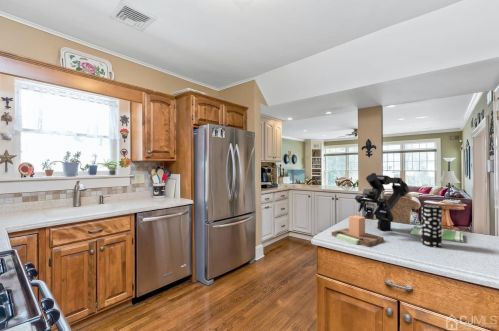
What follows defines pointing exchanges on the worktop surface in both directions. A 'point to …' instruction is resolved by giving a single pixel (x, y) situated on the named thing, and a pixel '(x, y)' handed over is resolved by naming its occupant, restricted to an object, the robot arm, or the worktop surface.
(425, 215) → the spotted tube
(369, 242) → the walnut board
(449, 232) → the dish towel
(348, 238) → the green end pad
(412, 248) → the worktop surface
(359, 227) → the terracotta block
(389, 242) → the worktop surface
